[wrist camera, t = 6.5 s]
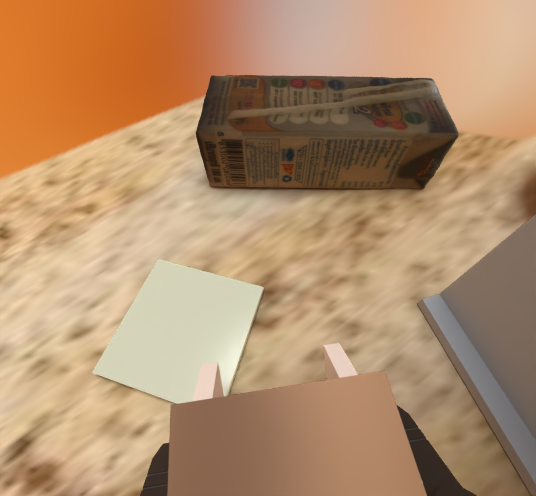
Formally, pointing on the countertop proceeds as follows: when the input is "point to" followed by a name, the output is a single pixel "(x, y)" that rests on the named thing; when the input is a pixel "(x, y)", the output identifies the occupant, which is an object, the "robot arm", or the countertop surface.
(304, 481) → the brown tall rectangular block
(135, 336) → the sage tile
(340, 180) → the beverage carton
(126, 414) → the countertop surface
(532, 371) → the slate panel
